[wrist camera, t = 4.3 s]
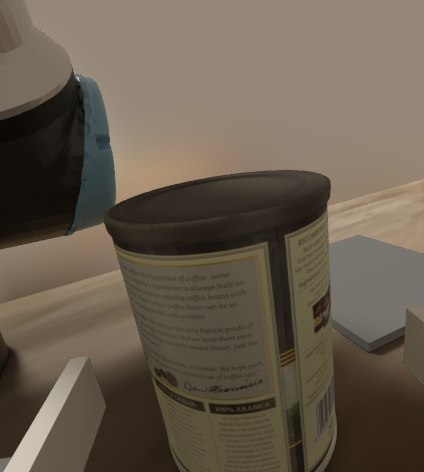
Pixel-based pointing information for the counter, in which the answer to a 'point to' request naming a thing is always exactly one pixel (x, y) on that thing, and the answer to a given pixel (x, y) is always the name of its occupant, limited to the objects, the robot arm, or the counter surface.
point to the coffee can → (235, 317)
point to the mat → (373, 289)
